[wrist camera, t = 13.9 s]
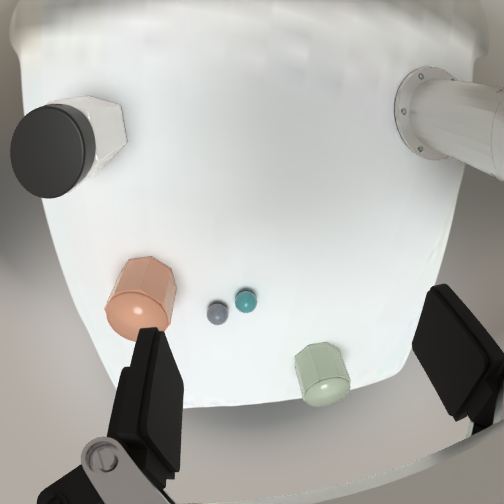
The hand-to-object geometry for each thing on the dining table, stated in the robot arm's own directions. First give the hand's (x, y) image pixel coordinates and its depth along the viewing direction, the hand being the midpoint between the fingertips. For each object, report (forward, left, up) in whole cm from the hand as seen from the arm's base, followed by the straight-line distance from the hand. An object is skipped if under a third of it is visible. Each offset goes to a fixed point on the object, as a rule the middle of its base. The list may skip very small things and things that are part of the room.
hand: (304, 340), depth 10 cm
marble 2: (+2, +19, -25) cm, 31 cm away
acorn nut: (-9, +35, -28) cm, 46 cm away
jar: (+17, -6, -28) cm, 34 cm away
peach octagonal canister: (+15, +15, -28) cm, 35 cm away
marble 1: (+6, +20, -25) cm, 33 cm away
